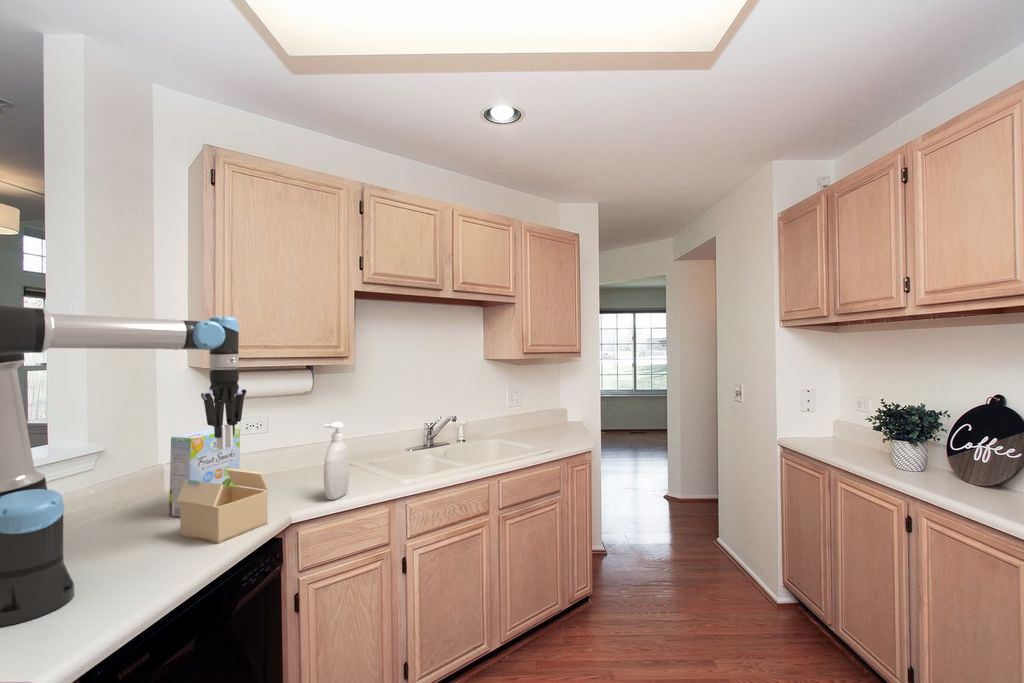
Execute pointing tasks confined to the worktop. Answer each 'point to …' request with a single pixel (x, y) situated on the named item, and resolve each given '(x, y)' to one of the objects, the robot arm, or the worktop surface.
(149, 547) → the worktop surface
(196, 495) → the flap
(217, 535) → the carton
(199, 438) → the snack box
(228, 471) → the flap
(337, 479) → the soap bottle
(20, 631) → the worktop surface
